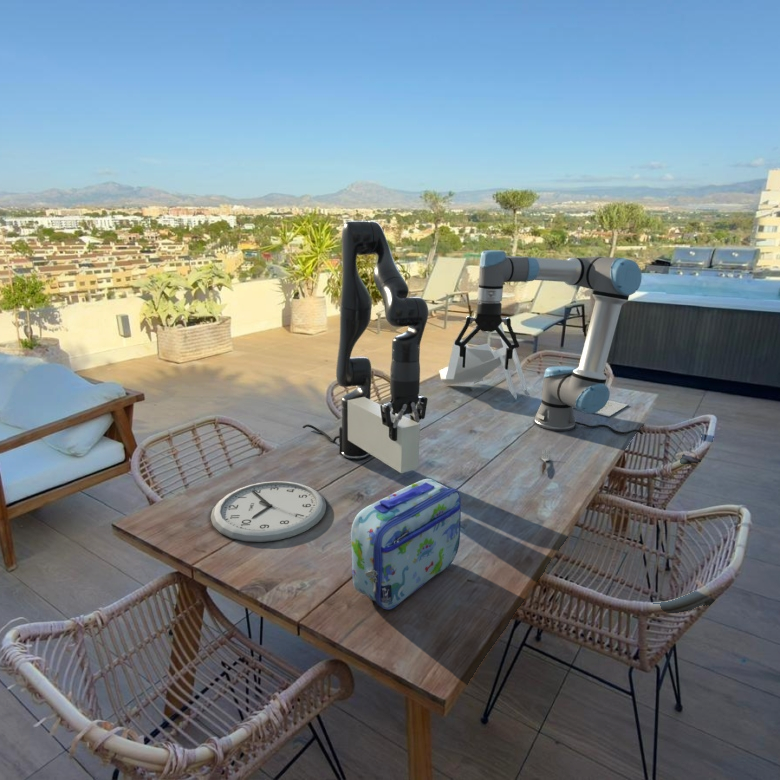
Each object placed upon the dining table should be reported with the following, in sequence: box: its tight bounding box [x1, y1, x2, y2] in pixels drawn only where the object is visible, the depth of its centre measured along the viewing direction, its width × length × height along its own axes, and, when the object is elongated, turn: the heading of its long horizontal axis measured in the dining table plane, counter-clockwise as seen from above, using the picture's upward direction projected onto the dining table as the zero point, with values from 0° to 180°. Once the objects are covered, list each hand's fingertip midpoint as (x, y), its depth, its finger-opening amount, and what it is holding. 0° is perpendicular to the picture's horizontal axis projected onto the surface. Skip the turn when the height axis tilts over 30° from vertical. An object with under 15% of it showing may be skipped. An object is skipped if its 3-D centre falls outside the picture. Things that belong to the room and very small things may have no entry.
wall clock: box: [210, 480, 327, 543], centre depth 140 cm, size 30×2×30 cm
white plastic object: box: [438, 323, 531, 400], centre depth 245 cm, size 37×45×31 cm
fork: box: [541, 449, 551, 474], centre depth 169 cm, size 3×16×2 cm, turn 160°
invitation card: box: [595, 400, 629, 418], centre depth 226 cm, size 21×1×15 cm
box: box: [348, 397, 421, 474], centre depth 147 cm, size 27×6×13 cm, turn 36°
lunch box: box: [350, 478, 462, 611], centre depth 110 cm, size 26×11×21 cm, turn 135°
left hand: (403, 437), depth 138 cm, fingers closed on box, 6 cm apart
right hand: (484, 367), depth 169 cm, fingers open, 13 cm apart
